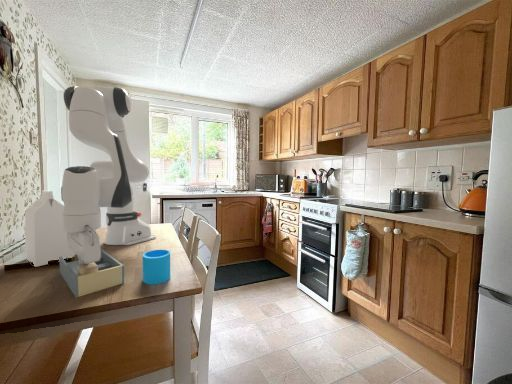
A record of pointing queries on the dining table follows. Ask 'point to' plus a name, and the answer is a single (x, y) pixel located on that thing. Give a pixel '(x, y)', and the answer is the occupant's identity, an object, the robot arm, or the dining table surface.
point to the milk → (45, 231)
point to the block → (87, 268)
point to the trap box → (92, 275)
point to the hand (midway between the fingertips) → (84, 269)
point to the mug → (156, 266)
